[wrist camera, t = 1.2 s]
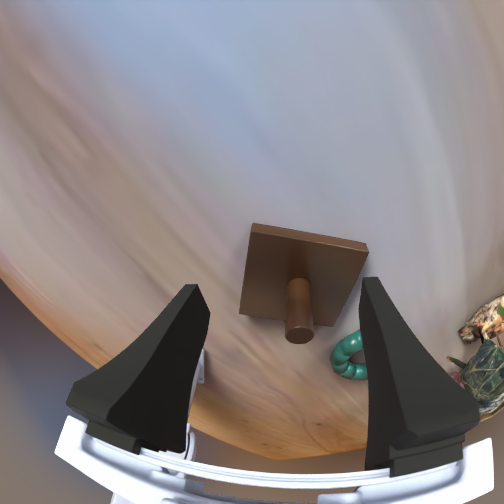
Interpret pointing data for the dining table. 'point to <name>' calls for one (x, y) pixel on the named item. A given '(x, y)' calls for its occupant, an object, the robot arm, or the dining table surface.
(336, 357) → the ring
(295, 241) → the brown peg stand
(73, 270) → the dining table surface
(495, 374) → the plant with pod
